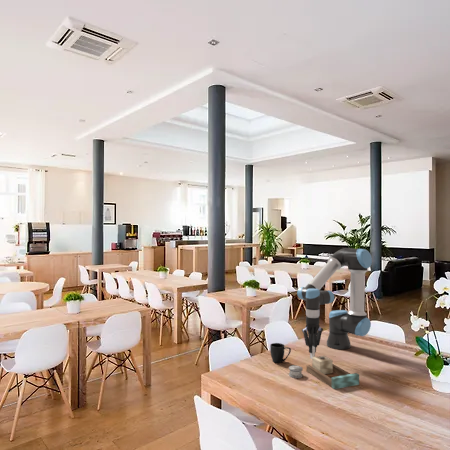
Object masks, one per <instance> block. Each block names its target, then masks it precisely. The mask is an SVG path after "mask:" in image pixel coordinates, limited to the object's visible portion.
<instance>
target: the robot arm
mask: <svg viewBox="0 0 450 450" xmlns="http://www.w3.org/2000/svg"><path fill="white" fill-rule="evenodd" d="M372 263H373V258H372V254H371V253H370V252H369V251H368V250H367V249H365V248H349V247H343V248H341V249H339V250H337V251H335V252H334V253H333V254H332V255H330V256H329V258H328V259H327V262H326V263H325V265H323V267H322V268H321V269H320V270H319V271H318V272H317V273H316V275H315V276H314V277H313V278H312V279H311V280H310V281H309V283H307V285H306V286H305V287H304V286H301V287H299V288H298V289H297V293H296V294H297V297H298V299H299V300H303V301H305V315H306V316H305V328H302V329H301V332H302V333H303V339H304V343H305V346H306V347H308V352H309V358H310V359H311V360H312V357H316V353H317V348H318V346H320V341H321V339H322V338H321V337H322V332H323V331H324V328H322V327H321V326H320V315H321V314H320V305H328V304H331V303H333V302H334V301H335V294H334V293H333V292H332V290H328V289H327V290H326V289H325V290H322V288H323V286H325V285H326V283H327V282H328V281H329V280H330V279H331V277H332V276H333V275H334V274H335V273H336V272H337V270H340V269H342V268H343V267H347V269H348V271H349V272H350V281H349V282H350V287H349V291H350V293H349V297H350V298H349V310H345V309H337V310H331V311H329V314H328V315H329V317H328V323H329V324H328V331H329V332H328V336H327V339H326V346H327V347H328V348H331V349H334V350H335V349H336V350H348V349H350V348H351V341H350V337H349V334H351V335H355V336H356V337H357V336H359V337H364V336H367V335H368V334H369V332H370V329H371V325H372V323H371V322H372V321H371V320H370V318H369V317H368V314H367V312H365V290H366V289H365V287H366V273H367V272H368V270H369V268H371V266H372Z"/></svg>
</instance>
